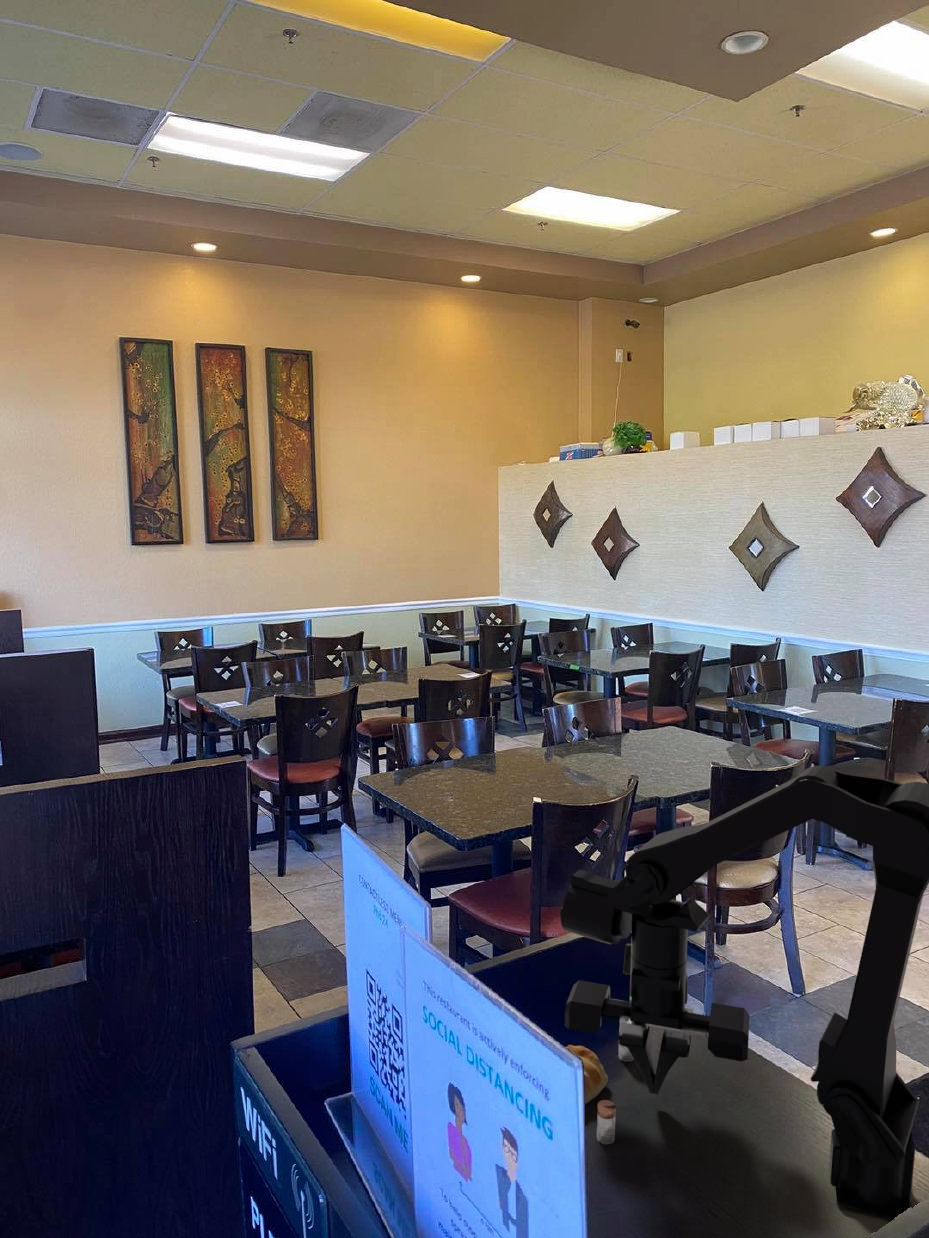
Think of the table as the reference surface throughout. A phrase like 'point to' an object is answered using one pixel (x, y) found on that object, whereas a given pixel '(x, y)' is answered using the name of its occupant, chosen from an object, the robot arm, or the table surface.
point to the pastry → (590, 1071)
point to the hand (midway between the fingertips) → (654, 1091)
